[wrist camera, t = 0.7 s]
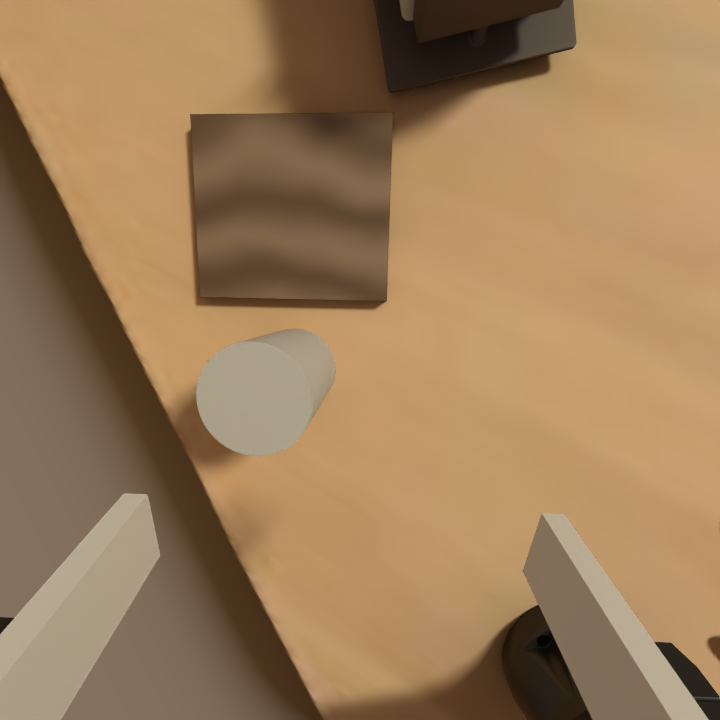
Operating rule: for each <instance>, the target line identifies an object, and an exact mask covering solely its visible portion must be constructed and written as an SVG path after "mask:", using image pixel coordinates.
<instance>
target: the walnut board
mask: <svg viewBox="0 0 720 720" xmlns="http://www.w3.org/2000/svg"><path fill="white" fill-rule="evenodd" d="M190 118H191V137H192V155H193V174H194V193H195V212H196V231H197V249H198V268H199V287H200V297H223V298H269V299H316V300H362V301H387V276H388V246H389V217H390V187H391V158H392V128H393V112H383V113H281V114H190Z"/></svg>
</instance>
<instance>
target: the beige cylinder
mask: <svg viewBox="0 0 720 720" xmlns="http://www.w3.org/2000/svg"><path fill="white" fill-rule="evenodd" d="M335 373H336V366H335V360H334V356H333V354H332V351H331V350H330V348H329V346H328V345H327V344H326V343H325V341H324V340H323V339H321V338H320V337H319V336H318V335H316V334H314V333H312V332H310V331H307V330H303V329H287V330H283V331H279V332H275V333H272V334H268V335H264V336H261V337H257V338H254V339H250V340H246V341H243V342H239V343H235V344H232V345H229V346H227V347H225V348H223V349H221V350H220V351H218V352H217V353H216V354H215V355H213V356H212V357H211V358H210V359H209V361H208V362H207V363H206V365H205V366H204V368H203V370H202V371H201V374H200V376H199V379H198V383H197V390H196V400H197V407H198V411H199V414H200V417H201V419H202V421H203V423H204V425H205V427H206V428H207V430H208V431H209V432H210V433H211V435H212V436H213V437H214V438H215V439H216V440H217V441H218V442H220V443H221V444H222V445H224V446H225V447H227V448H229V449H231V450H233V451H235V452H237V453H240V454H244V455H249V456H268V455H272V454H276V453H279V452H281V451H283V450H285V449H287V448H288V447H290V446H291V445H293V444H294V443H295V442H296V441H297V440H298V439H299V438H300V437H301V435H302V434H303V433H304V431H305V429H306V428H307V426H308V425H309V423H310V421H311V420H312V418H313V416H314V415H315V413H316V411H317V410H318V408H319V406H320V405H321V403H322V401H323V400H324V398H325V396H326V395H327V393H328V391H329V390H330V388H331V386H332V384H333V382H334V378H335Z"/></svg>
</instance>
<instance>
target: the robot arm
mask: <svg viewBox="0 0 720 720" xmlns="http://www.w3.org/2000/svg"><path fill="white" fill-rule="evenodd" d="M159 556H160V552H159V547H158V542H157V538H156V533H155V528H154V523H153V518H152V514H151V509H150V504H149V499H148V495H146V494H123V495H122V496H121V497H120V499H119V500H118V501H117V502H116V503H115V504H114V506H112V508H111V509H110V510H109V511H108V512H107V513H106V514H105V516H104V517H103V518H102V519H101V520H100V521H99V522H98V523H97V525H96V526H95V527H94V528H93V529H92V530H91V531H90V533H89V534H88V535H87V536H86V537H85V539H83V541H82V542H81V543H80V544H79V545H78V546H77V547H76V549H75V550H74V551H73V552H72V553H71V554H70V555H69V557H68V558H67V559H66V560H65V561H64V562H63V563H62V565H61V566H60V567H59V568H58V569H57V570H56V571H55V572H54V574H53V575H52V576H51V577H50V578H49V579H48V580H47V582H46V583H45V584H44V585H43V586H42V587H41V588H40V590H39V591H38V592H37V593H36V594H35V595H34V596H33V598H32V599H31V600H30V601H29V602H28V603H27V604H26V605H25V607H24V608H23V609H22V610H21V611H20V612H19V613H18V615H17V616H16V617H15V618H4V617H0V720H61V718H62V717H63V715H64V714H65V712H66V710H67V709H68V707H69V705H70V704H71V702H72V700H73V699H74V697H75V695H76V693H77V692H78V690H79V689H80V687H81V685H82V684H83V682H84V680H85V679H86V677H87V675H88V674H89V672H90V671H91V669H92V667H93V666H94V664H95V662H96V661H97V659H98V657H99V656H100V654H101V652H102V651H103V649H104V647H105V646H106V644H107V642H108V641H109V639H110V637H111V636H112V634H113V632H114V631H115V629H116V627H117V626H118V624H119V623H120V621H121V619H122V617H123V616H124V614H125V613H126V611H127V609H128V608H129V606H130V604H131V603H132V601H133V599H134V598H135V596H136V594H137V593H138V591H139V589H140V588H141V586H142V584H143V583H144V581H145V579H146V578H147V576H148V574H149V572H150V571H151V569H152V568H153V566H154V565H155V563H156V561H157V559H158V558H159ZM523 572H524V575H525V577H526V579H527V581H528V583H529V585H530V587H531V590H532V592H533V594H534V596H535V598H536V600H537V602H538V604H539V607H537V608H535V609H533V610H531V611H530V612H528V613H527V614H525V615H524V616H523V617H522V618H521V619H519V620H518V621H517V622H516V624H515V625H514V626H513V627H512V629H511V630H510V632H509V634H508V635H507V638H506V640H505V643H504V646H503V652H502V663H503V669H504V672H505V675H506V678H507V681H508V684H509V687H510V690H511V693H512V695H513V697H514V699H515V701H516V703H517V704H518V706H519V708H520V709H521V710H522V712H523V713H524V715H525V717H526V718H527V720H720V699H719V695H718V694H717V693H716V691H715V690H714V689H713V687H712V686H711V685H710V684H709V682H708V681H707V680H706V678H705V677H704V676H703V674H702V673H701V672H700V670H699V669H698V668H697V667H696V666H695V665H694V664H693V663H692V662H691V661H690V660H689V659H688V658H687V657H686V656H685V655H683V654H682V653H681V652H680V651H679V650H678V649H677V648H676V647H675V646H674V645H673V644H672V643H665V642H654V641H653V640H652V638H651V637H650V635H649V634H648V633H647V631H646V630H645V628H644V627H643V626H642V624H641V623H640V621H639V620H638V618H637V617H636V616H635V614H634V613H633V611H632V610H631V608H630V607H629V606H628V604H627V603H626V601H625V600H624V598H623V597H622V596H621V594H620V593H619V591H618V590H617V589H616V587H615V586H614V584H613V583H612V581H611V580H610V579H609V577H608V576H607V574H606V573H605V571H604V570H603V569H602V567H601V566H600V564H599V563H598V562H597V560H596V559H595V557H594V556H593V554H592V553H591V552H590V550H589V549H588V547H587V546H586V544H585V543H584V542H583V540H582V539H581V537H580V536H579V534H578V533H577V532H576V530H575V529H574V527H573V526H572V525H571V523H570V522H569V520H568V519H567V517H566V516H565V515H564V514H549V513H542V514H541V517H540V520H539V523H538V526H537V529H536V532H535V535H534V538H533V541H532V545H531V548H530V551H529V554H528V557H527V560H526V563H525V566H524V569H523Z"/></svg>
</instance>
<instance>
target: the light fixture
mask: <svg viewBox="0 0 720 720" xmlns="http://www.w3.org/2000/svg"><path fill="white" fill-rule="evenodd" d="M374 1H375V7H376V14H377V20H378V26H379V33H380V39H381V46H382V52H383V58H384V65H385V71H386V77H387V84H388V90H389V92H391V93H393V92H397V91H401V90H406V89H410V88H414V87H418V86H422V85H426V84H430V83H434V82H438V81H443V80H447V79H451V78H455V77H459V76H463V75H467V74H471V73H475V72H479V71H484V70H488V69H492V68H496V67H500V66H504V65H508V64H512V63H516V62H521V61H525V60H529V59H533V58H537V57H541V56H545V55H549V54H553V53H558V52H562V51H566V50H570V49H573V48H574V46H575V45H576V32H575V19H574V7H573V0H374Z"/></svg>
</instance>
